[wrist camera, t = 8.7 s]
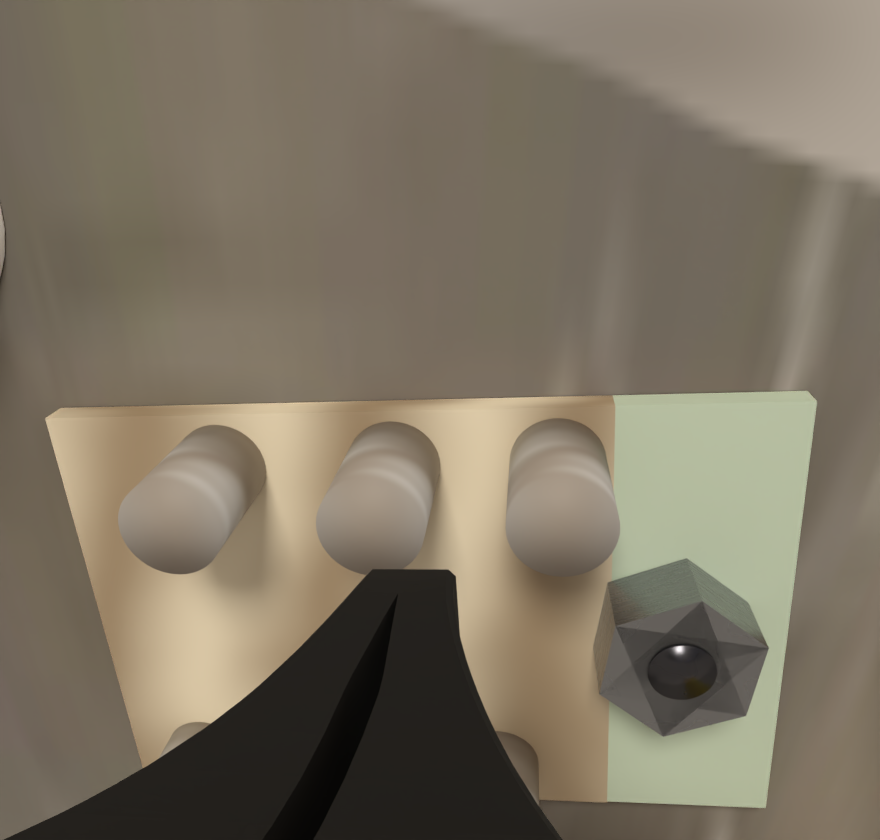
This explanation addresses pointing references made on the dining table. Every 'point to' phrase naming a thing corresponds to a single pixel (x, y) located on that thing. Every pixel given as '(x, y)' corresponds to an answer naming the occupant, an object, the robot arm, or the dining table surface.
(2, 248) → the hook
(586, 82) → the dining table surface
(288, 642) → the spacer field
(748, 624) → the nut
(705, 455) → the felt mat
